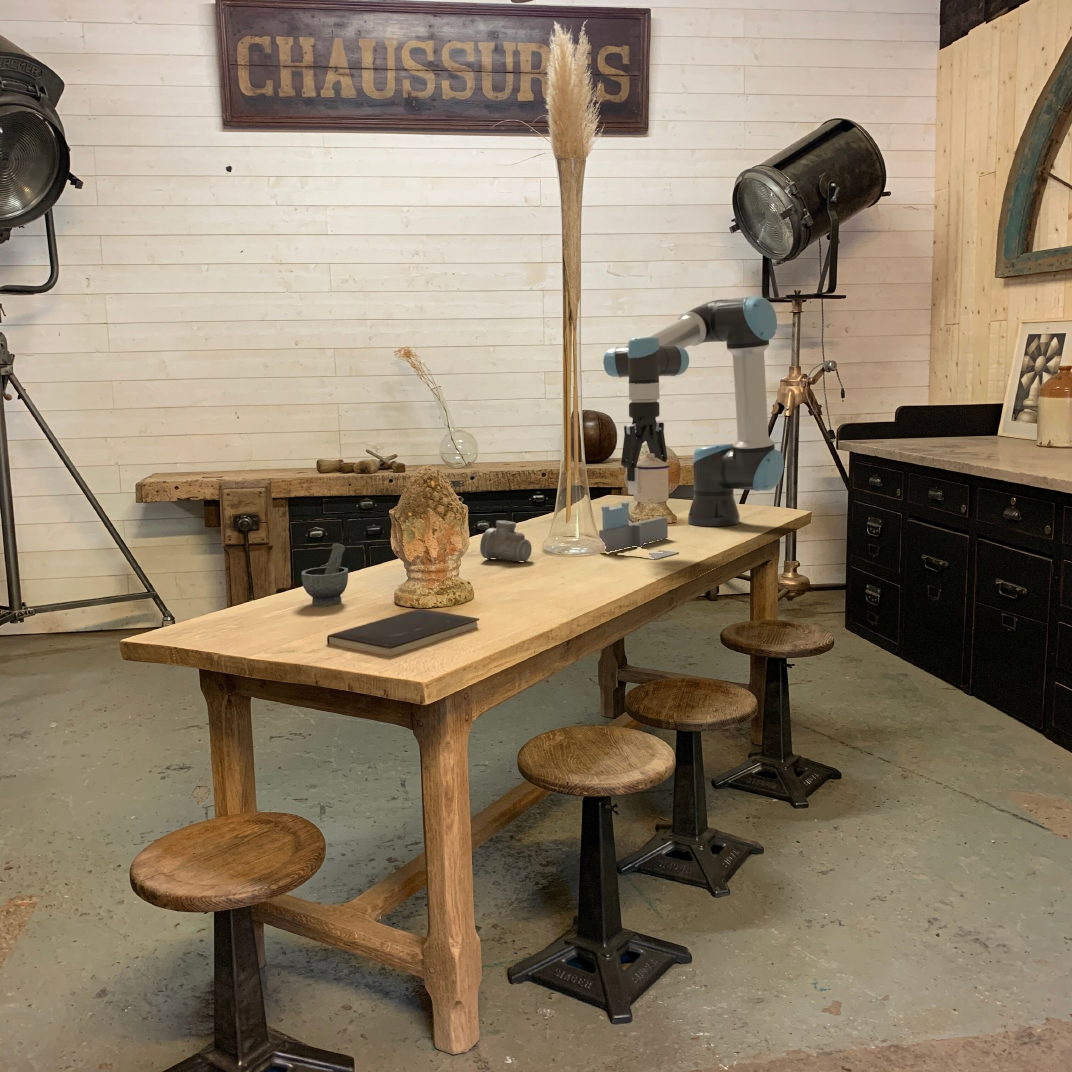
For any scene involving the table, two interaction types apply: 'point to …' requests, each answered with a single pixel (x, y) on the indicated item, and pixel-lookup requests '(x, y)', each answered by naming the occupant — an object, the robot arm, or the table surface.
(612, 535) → the bay rack
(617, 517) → the blue bezel
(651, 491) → the teacup with lid
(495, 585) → the table surface
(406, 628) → the hardcover book
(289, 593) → the table surface
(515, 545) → the pipe fitting
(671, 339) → the robot arm
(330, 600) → the mortar and pestle
